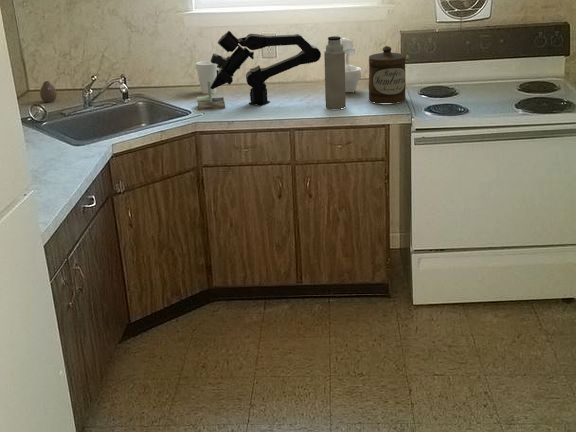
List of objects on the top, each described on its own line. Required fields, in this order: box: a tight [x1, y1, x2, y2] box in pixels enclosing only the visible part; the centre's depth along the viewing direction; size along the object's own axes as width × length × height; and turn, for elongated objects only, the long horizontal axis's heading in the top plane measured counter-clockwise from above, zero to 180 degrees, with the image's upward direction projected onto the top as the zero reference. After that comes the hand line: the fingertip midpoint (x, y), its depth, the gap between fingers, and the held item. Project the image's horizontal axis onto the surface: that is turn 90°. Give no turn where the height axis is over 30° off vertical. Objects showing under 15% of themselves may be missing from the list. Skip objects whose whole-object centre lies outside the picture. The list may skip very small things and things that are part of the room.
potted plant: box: [341, 37, 362, 93], centre depth 341 cm, size 13×12×25 cm
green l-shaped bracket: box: [196, 80, 213, 103], centre depth 329 cm, size 6×6×8 cm
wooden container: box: [368, 45, 407, 104], centre depth 325 cm, size 15×15×22 cm
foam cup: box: [195, 60, 218, 95], centre depth 354 cm, size 10×9×13 cm
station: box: [197, 96, 226, 111], centre depth 331 cm, size 11×8×3 cm
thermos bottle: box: [323, 35, 347, 110], centre depth 317 cm, size 8×8×28 cm
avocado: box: [39, 80, 58, 104], centre depth 351 cm, size 7×7×9 cm
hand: (211, 88), depth 329 cm, fingers closed, pressing on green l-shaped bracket
